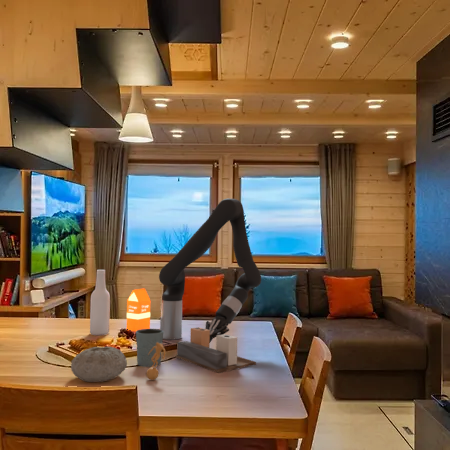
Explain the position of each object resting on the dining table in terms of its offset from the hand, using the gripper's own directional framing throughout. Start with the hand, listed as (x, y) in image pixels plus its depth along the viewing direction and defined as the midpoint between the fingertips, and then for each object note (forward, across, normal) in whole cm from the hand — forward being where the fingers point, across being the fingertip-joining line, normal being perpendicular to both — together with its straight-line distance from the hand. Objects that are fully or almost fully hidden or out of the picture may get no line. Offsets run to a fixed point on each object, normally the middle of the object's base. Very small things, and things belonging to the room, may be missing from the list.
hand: (204, 343), depth 191 cm
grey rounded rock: (+36, +2, -29) cm, 46 cm away
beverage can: (-14, -62, +21) cm, 67 cm away
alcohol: (+14, -62, -6) cm, 64 cm away
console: (+4, +8, +2) cm, 10 cm away
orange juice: (0, -60, +8) cm, 61 cm away
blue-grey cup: (+20, -4, -13) cm, 24 cm away
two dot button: (+4, 0, +1) cm, 4 cm away
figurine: (+26, +14, -19) cm, 35 cm away
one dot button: (+4, +16, +1) cm, 17 cm away
